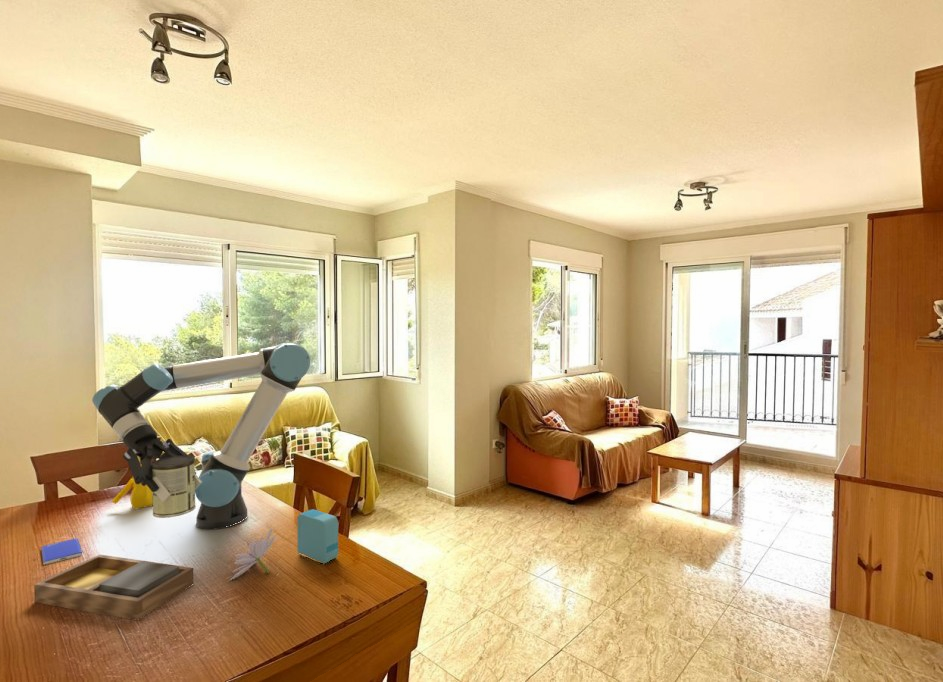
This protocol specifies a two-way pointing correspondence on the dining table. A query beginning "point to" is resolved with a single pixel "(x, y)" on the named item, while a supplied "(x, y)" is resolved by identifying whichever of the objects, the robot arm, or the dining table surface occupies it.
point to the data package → (317, 535)
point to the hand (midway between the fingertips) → (183, 492)
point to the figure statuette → (136, 494)
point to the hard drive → (61, 551)
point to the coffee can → (175, 486)
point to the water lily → (253, 555)
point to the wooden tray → (114, 586)
